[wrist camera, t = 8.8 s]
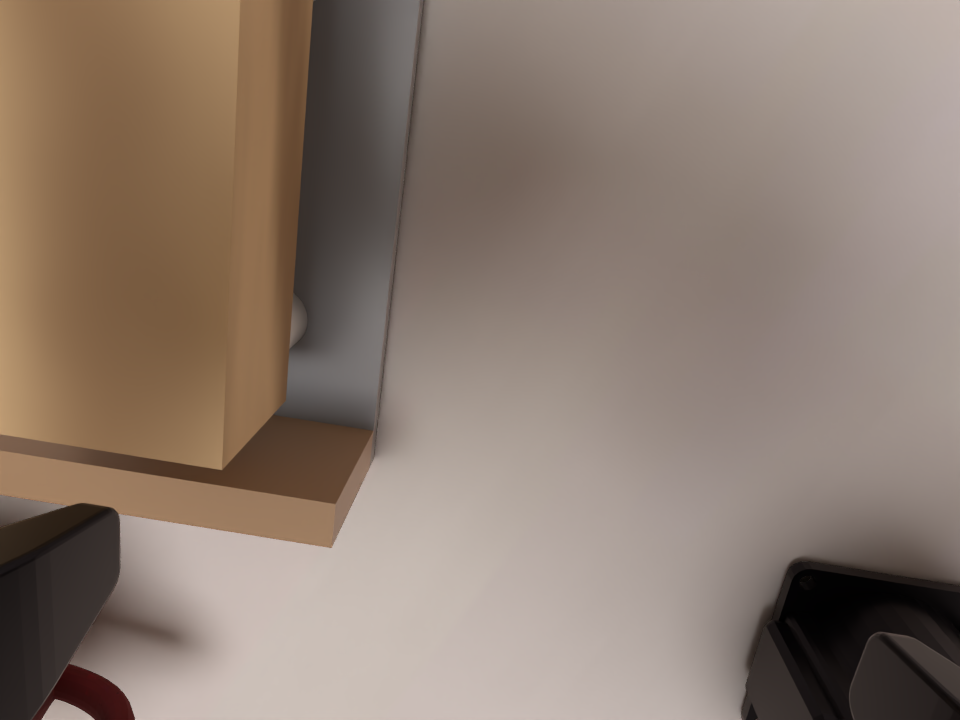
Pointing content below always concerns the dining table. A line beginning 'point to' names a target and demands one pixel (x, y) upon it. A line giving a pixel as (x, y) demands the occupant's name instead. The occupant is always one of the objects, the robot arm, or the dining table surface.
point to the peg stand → (294, 315)
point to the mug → (89, 695)
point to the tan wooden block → (149, 220)
